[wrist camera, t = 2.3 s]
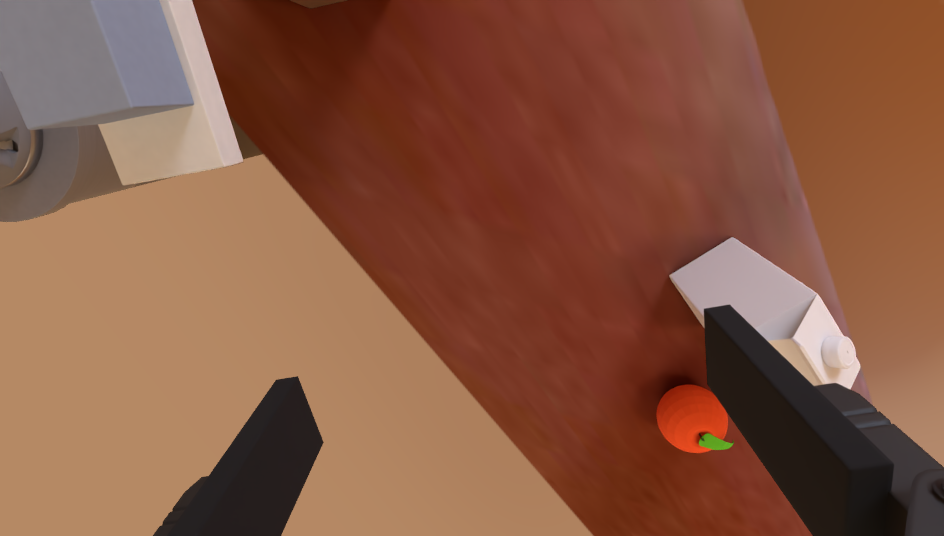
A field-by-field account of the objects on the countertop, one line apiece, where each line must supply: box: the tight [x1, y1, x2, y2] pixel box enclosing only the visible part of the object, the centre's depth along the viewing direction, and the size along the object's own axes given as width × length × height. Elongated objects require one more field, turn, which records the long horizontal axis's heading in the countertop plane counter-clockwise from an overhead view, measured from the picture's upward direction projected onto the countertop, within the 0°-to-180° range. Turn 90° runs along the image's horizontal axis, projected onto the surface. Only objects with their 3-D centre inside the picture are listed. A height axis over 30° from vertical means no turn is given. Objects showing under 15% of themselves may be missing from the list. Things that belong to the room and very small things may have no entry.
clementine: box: [656, 385, 734, 453], centre depth 53 cm, size 8×7×7 cm
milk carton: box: [669, 237, 860, 389], centre depth 42 cm, size 7×7×19 cm
